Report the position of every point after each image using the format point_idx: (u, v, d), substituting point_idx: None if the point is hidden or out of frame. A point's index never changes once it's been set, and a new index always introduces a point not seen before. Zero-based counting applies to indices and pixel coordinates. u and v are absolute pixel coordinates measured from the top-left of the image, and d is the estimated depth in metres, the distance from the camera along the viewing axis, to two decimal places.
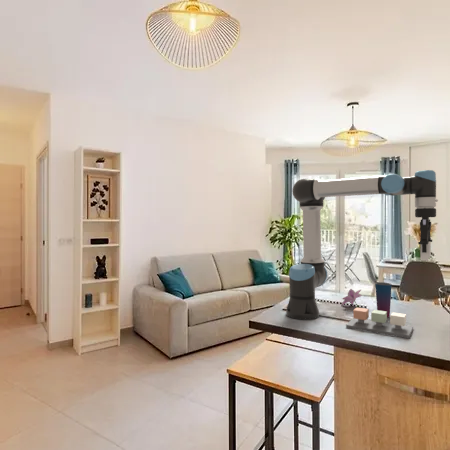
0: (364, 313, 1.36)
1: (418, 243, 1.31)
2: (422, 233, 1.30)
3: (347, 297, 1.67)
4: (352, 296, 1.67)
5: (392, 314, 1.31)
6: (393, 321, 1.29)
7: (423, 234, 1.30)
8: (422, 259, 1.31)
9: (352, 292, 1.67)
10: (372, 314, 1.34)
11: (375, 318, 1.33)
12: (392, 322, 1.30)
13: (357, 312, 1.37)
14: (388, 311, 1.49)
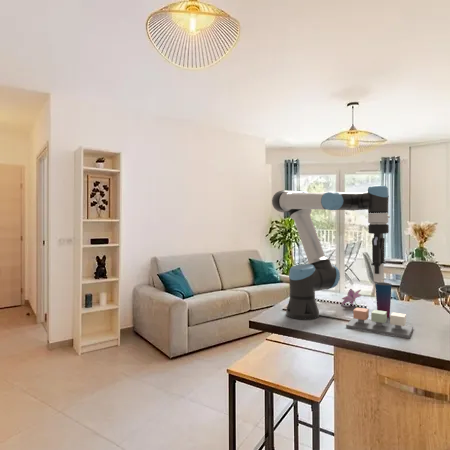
0: (364, 313, 1.36)
1: None
2: (374, 255, 1.30)
3: (347, 297, 1.67)
4: (352, 296, 1.67)
5: (392, 314, 1.31)
6: (393, 321, 1.29)
7: (375, 256, 1.29)
8: (375, 280, 1.32)
9: (352, 292, 1.67)
10: (372, 314, 1.34)
11: (375, 318, 1.33)
12: (392, 322, 1.30)
13: (357, 312, 1.37)
14: (388, 311, 1.49)
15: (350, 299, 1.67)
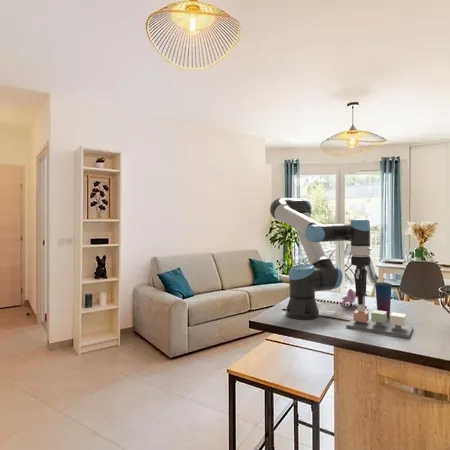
0: (364, 315, 1.36)
1: (355, 295, 1.38)
2: (357, 287, 1.35)
3: (346, 297, 1.67)
4: (351, 296, 1.67)
5: (392, 314, 1.31)
6: (393, 321, 1.29)
7: (358, 288, 1.35)
8: (359, 310, 1.38)
9: (351, 292, 1.67)
10: (372, 314, 1.34)
11: (375, 318, 1.33)
12: (392, 322, 1.30)
13: (357, 314, 1.37)
14: (388, 311, 1.49)
15: (350, 299, 1.67)
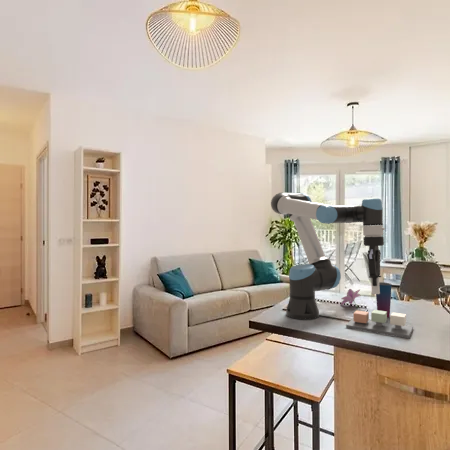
0: (364, 316, 1.36)
1: (369, 277, 1.35)
2: (370, 268, 1.32)
3: (346, 297, 1.67)
4: (351, 296, 1.67)
5: (392, 314, 1.31)
6: (393, 321, 1.29)
7: (371, 269, 1.31)
8: (373, 292, 1.34)
9: (351, 292, 1.67)
10: (372, 314, 1.34)
11: (375, 318, 1.33)
12: (392, 322, 1.30)
13: (357, 315, 1.37)
14: (388, 311, 1.49)
15: (349, 299, 1.67)
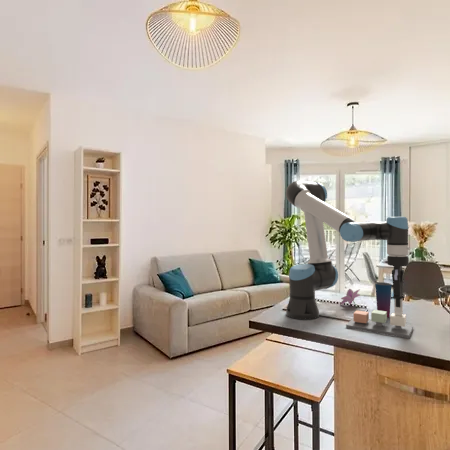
0: (364, 316, 1.36)
1: None
2: (395, 289, 1.27)
3: (346, 297, 1.67)
4: (351, 296, 1.67)
5: (392, 315, 1.31)
6: (393, 321, 1.29)
7: (396, 290, 1.27)
8: (396, 313, 1.30)
9: (351, 292, 1.67)
10: (372, 314, 1.34)
11: (375, 318, 1.33)
12: (392, 323, 1.30)
13: (357, 315, 1.37)
14: (388, 311, 1.49)
15: (349, 299, 1.68)
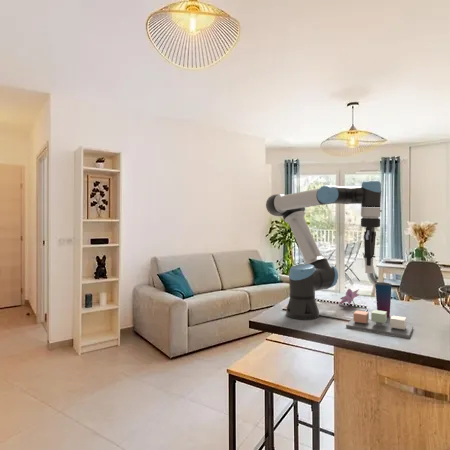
0: (364, 316, 1.36)
1: None
2: (366, 248, 1.36)
3: (345, 297, 1.67)
4: (350, 296, 1.68)
5: (392, 317, 1.31)
6: (393, 324, 1.29)
7: (367, 249, 1.36)
8: (366, 271, 1.40)
9: (350, 292, 1.67)
10: (372, 314, 1.34)
11: (375, 318, 1.33)
12: (392, 325, 1.30)
13: (357, 315, 1.37)
14: (388, 311, 1.49)
15: (348, 299, 1.68)
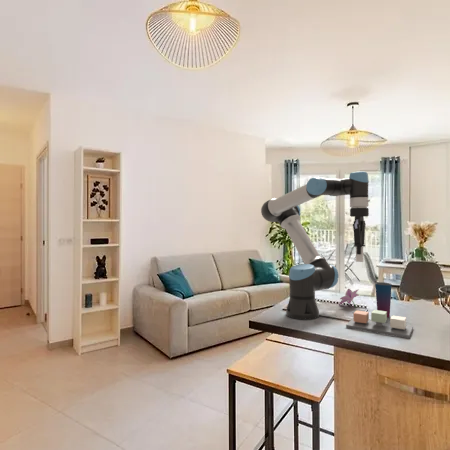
0: (364, 316, 1.36)
1: (354, 246, 1.43)
2: (355, 237, 1.40)
3: (345, 297, 1.67)
4: (350, 296, 1.68)
5: (392, 317, 1.31)
6: (393, 324, 1.29)
7: (356, 238, 1.40)
8: (357, 260, 1.43)
9: (350, 292, 1.67)
10: (372, 314, 1.34)
11: (375, 318, 1.33)
12: (392, 325, 1.30)
13: (357, 315, 1.37)
14: (388, 311, 1.49)
15: (348, 299, 1.68)
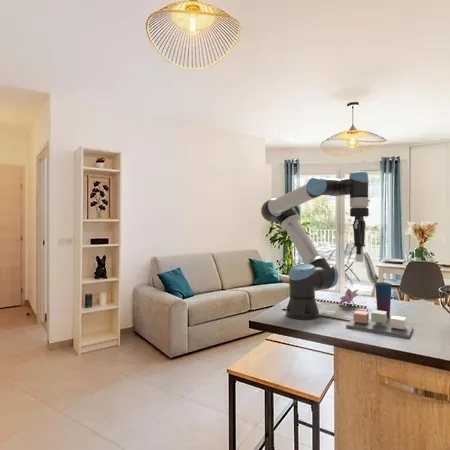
0: (364, 316, 1.36)
1: (354, 246, 1.43)
2: (355, 237, 1.40)
3: (344, 297, 1.67)
4: (349, 296, 1.68)
5: (392, 317, 1.31)
6: (393, 324, 1.29)
7: (356, 238, 1.40)
8: (357, 260, 1.43)
9: (349, 292, 1.67)
10: (372, 314, 1.34)
11: (375, 318, 1.33)
12: (392, 325, 1.30)
13: (357, 315, 1.37)
14: (388, 311, 1.49)
15: (348, 299, 1.68)
